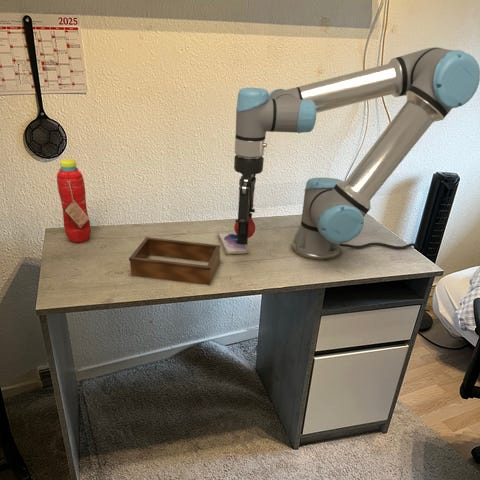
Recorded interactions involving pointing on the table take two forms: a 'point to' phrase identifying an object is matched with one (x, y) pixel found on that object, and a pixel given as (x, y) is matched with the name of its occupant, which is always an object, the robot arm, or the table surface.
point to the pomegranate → (250, 229)
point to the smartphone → (232, 243)
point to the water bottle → (73, 201)
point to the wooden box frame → (175, 269)
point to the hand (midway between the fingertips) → (244, 239)
